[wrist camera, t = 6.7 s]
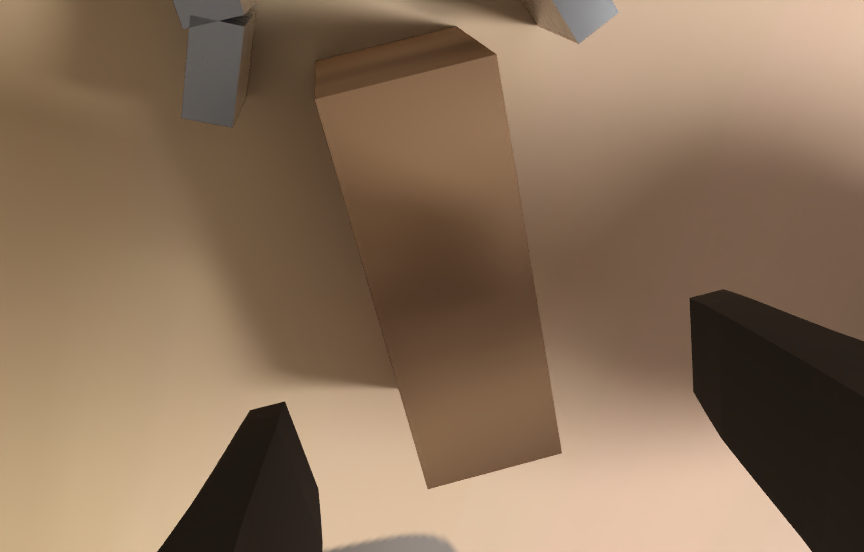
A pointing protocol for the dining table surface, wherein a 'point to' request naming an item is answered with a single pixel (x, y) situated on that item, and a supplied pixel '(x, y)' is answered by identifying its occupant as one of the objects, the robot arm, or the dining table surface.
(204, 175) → the dining table surface
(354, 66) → the brown rectangular block
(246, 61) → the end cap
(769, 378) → the robot arm
